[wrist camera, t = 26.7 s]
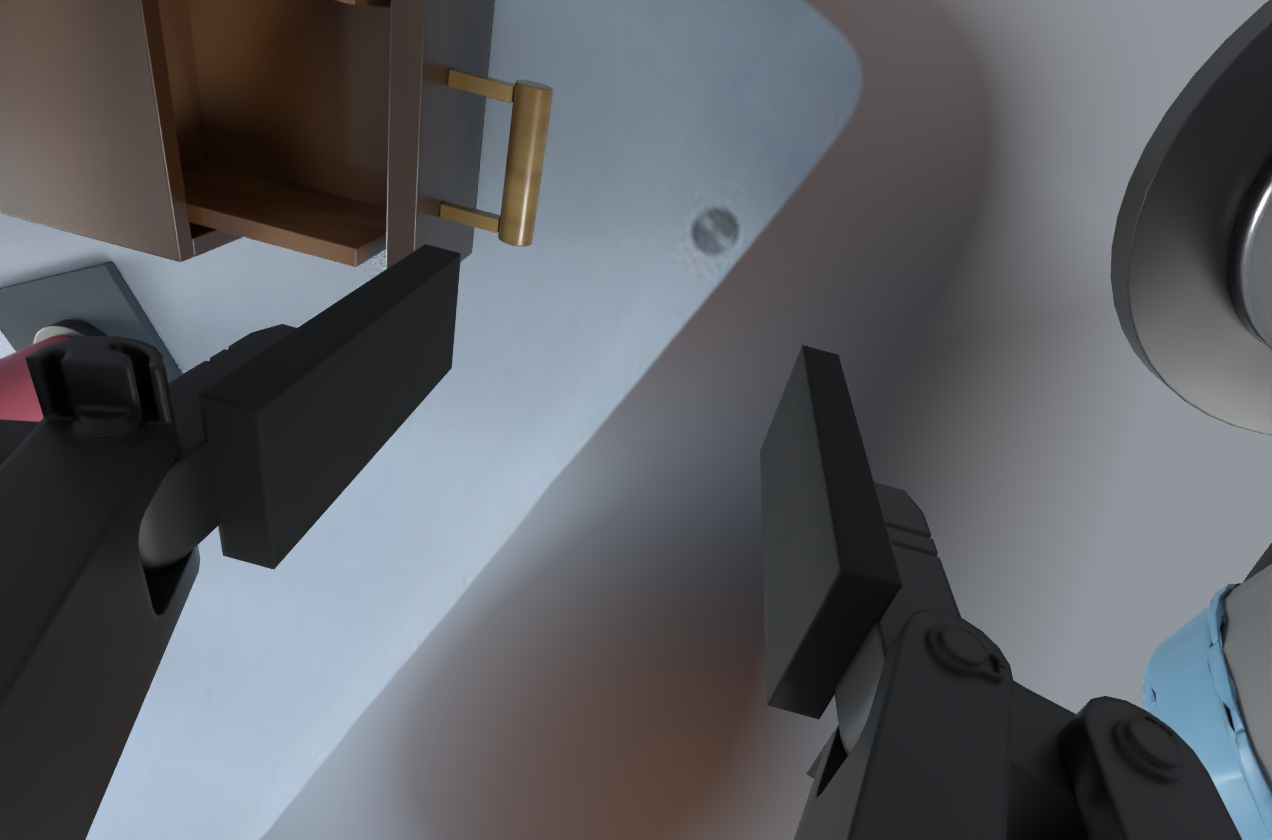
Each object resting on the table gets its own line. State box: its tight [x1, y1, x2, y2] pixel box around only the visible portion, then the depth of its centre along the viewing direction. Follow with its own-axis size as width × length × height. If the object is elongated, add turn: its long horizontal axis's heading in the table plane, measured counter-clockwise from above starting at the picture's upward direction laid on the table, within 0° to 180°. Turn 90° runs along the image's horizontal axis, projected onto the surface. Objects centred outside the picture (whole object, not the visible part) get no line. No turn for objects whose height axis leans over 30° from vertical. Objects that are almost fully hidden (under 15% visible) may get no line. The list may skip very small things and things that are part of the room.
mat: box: [0, 262, 183, 383], centre depth 40 cm, size 10×10×1 cm
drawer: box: [158, 0, 553, 269], centre depth 27 cm, size 17×11×7 cm, turn 77°
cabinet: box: [0, 0, 243, 262], centre depth 27 cm, size 15×13×9 cm
